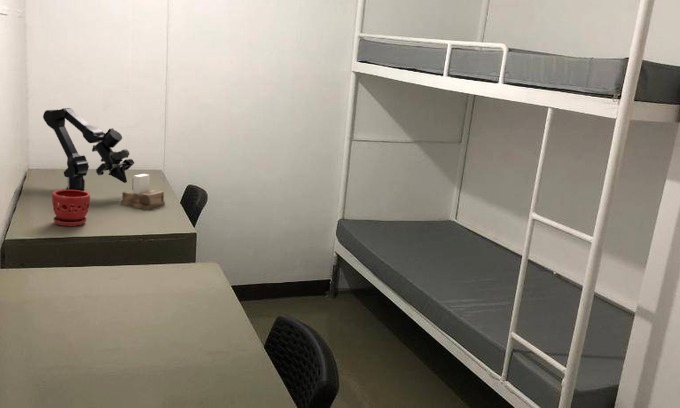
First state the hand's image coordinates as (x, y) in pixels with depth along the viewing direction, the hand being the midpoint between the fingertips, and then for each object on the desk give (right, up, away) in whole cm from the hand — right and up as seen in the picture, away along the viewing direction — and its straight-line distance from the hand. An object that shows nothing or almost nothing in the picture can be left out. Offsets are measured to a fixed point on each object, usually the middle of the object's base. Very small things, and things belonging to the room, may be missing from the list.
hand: (125, 182), depth 276 cm
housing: (+7, -9, -1) cm, 12 cm away
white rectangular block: (+7, -8, -1) cm, 10 cm away
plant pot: (-8, -17, -38) cm, 42 cm away
